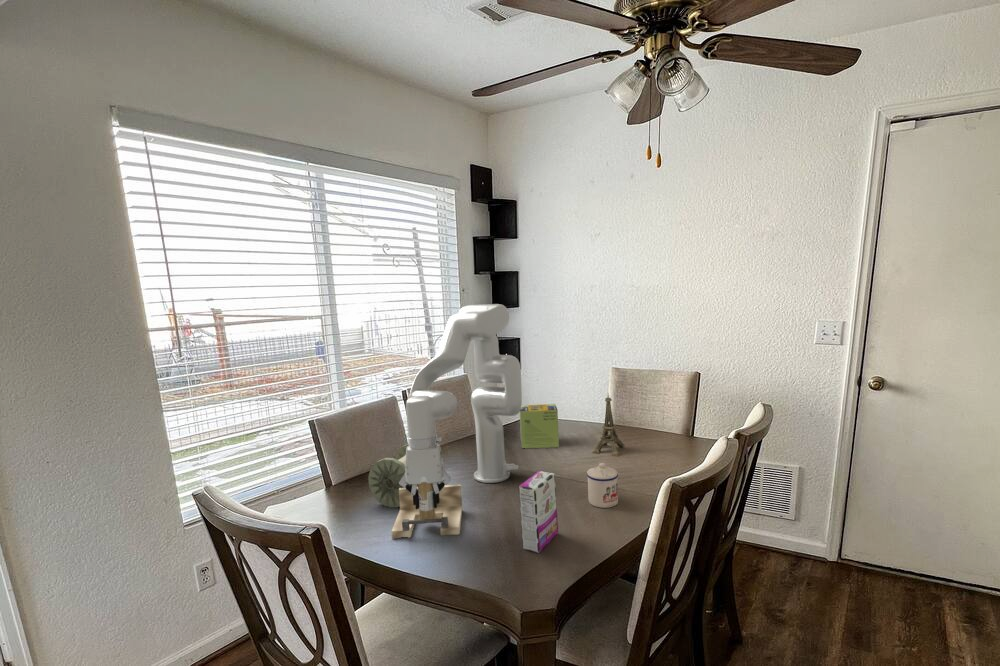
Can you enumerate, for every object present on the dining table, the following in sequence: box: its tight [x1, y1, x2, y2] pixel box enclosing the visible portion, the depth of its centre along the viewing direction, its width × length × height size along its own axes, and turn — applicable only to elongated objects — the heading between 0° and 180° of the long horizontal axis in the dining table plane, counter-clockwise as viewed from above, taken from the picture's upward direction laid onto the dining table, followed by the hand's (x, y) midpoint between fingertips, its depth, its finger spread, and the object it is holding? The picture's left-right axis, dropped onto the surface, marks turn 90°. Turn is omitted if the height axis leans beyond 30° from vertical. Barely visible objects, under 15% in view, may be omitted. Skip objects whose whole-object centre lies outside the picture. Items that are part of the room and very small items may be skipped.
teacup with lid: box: [586, 462, 619, 509], centre depth 144 cm, size 12×9×12 cm
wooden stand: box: [390, 484, 463, 539], centre depth 135 cm, size 18×14×8 cm
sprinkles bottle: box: [418, 477, 436, 520], centre depth 133 cm, size 5×5×14 cm
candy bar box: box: [518, 470, 559, 554], centre depth 123 cm, size 11×5×16 cm, turn 148°
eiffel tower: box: [591, 394, 628, 458], centre depth 187 cm, size 11×11×25 cm
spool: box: [367, 443, 418, 509], centre depth 155 cm, size 16×15×15 cm
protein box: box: [519, 403, 560, 449], centre depth 200 cm, size 10×15×16 cm
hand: (426, 505), depth 133 cm, fingers closed on sprinkles bottle, 4 cm apart
